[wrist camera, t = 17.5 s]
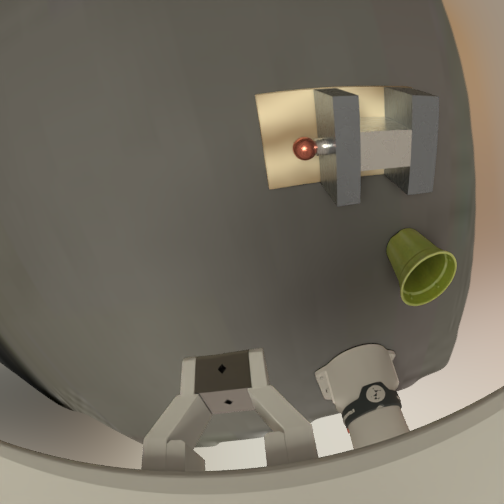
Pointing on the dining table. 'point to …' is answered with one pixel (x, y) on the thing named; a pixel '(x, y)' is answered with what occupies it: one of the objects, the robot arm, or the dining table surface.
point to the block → (384, 143)
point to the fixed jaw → (414, 136)
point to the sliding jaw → (336, 144)
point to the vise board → (302, 130)
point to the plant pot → (420, 267)
